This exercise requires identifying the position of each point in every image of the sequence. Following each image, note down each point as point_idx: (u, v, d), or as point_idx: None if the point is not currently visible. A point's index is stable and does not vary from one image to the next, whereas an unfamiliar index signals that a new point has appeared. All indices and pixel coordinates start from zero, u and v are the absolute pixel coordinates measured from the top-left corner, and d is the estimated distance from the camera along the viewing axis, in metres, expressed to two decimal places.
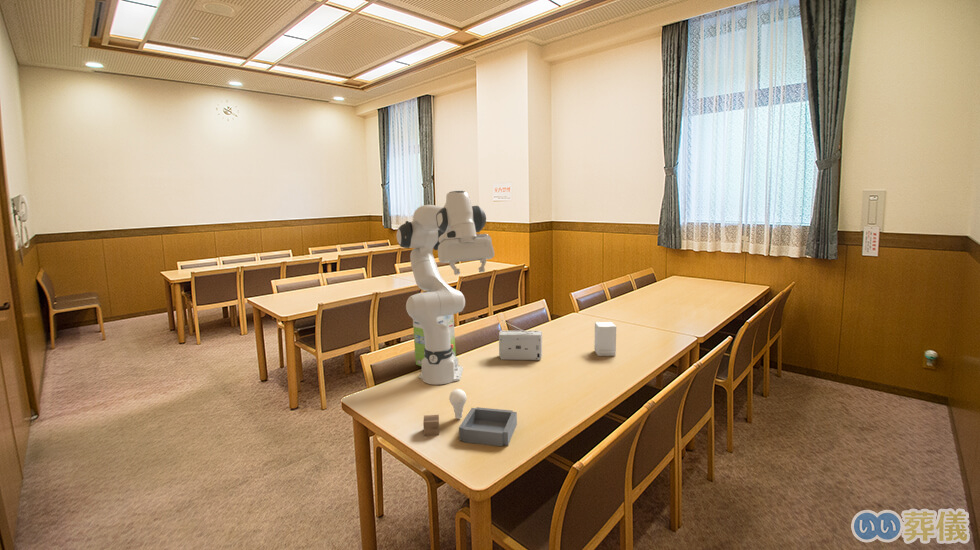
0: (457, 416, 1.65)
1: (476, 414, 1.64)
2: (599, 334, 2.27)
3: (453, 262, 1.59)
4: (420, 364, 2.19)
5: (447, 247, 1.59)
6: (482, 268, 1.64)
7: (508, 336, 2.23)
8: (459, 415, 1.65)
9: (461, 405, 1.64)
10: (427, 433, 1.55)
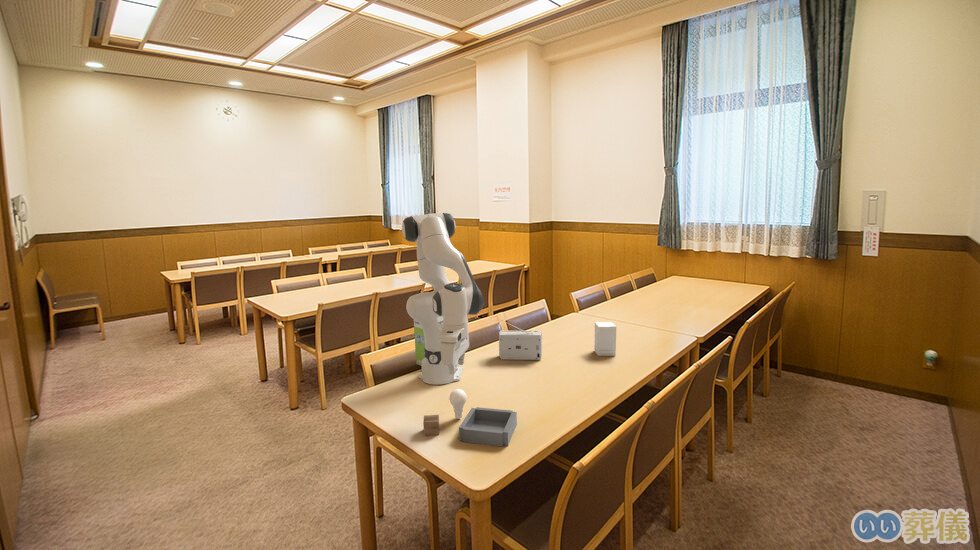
0: (457, 416, 1.65)
1: (476, 414, 1.64)
2: (599, 334, 2.27)
3: (454, 363, 1.57)
4: (420, 364, 2.19)
5: None
6: (463, 361, 1.68)
7: (508, 336, 2.23)
8: (459, 415, 1.65)
9: (462, 405, 1.64)
10: (427, 433, 1.55)
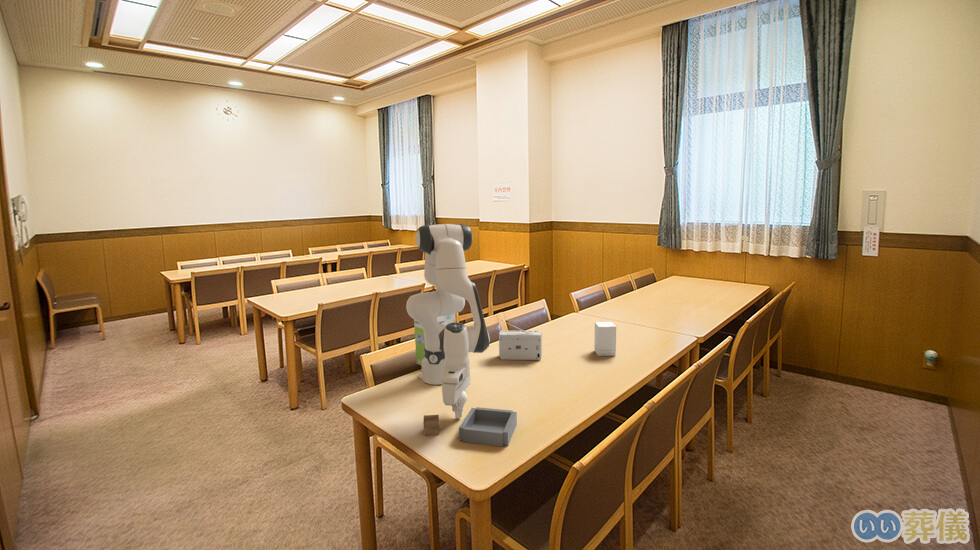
0: (457, 416, 1.65)
1: (476, 414, 1.64)
2: (599, 334, 2.27)
3: (456, 401, 1.61)
4: (420, 364, 2.19)
5: (455, 390, 1.57)
6: None
7: (508, 336, 2.23)
8: (460, 414, 1.65)
9: (462, 405, 1.64)
10: (427, 433, 1.55)
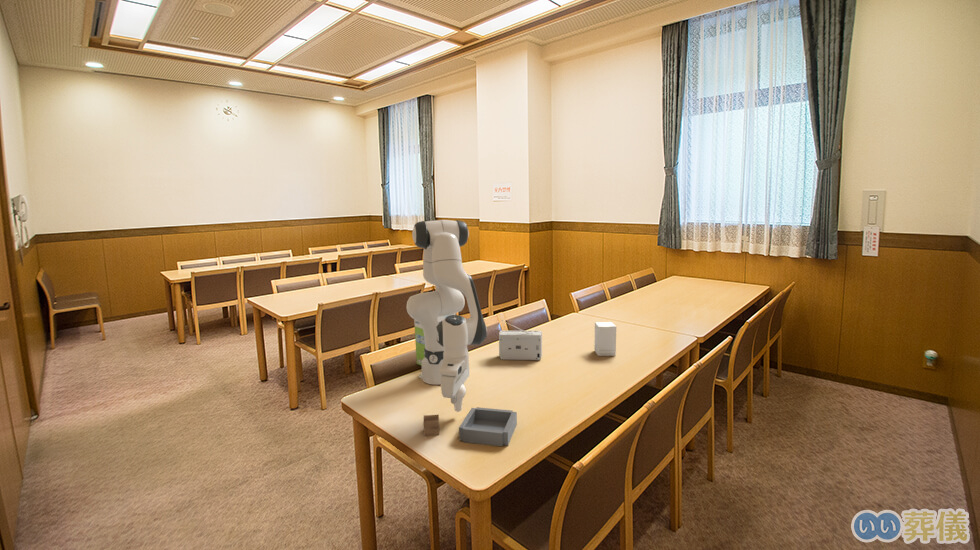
0: (456, 409, 1.66)
1: (476, 414, 1.64)
2: (599, 334, 2.27)
3: (455, 393, 1.61)
4: (420, 364, 2.19)
5: None
6: None
7: (508, 336, 2.23)
8: (459, 408, 1.66)
9: (461, 399, 1.64)
10: (427, 433, 1.55)
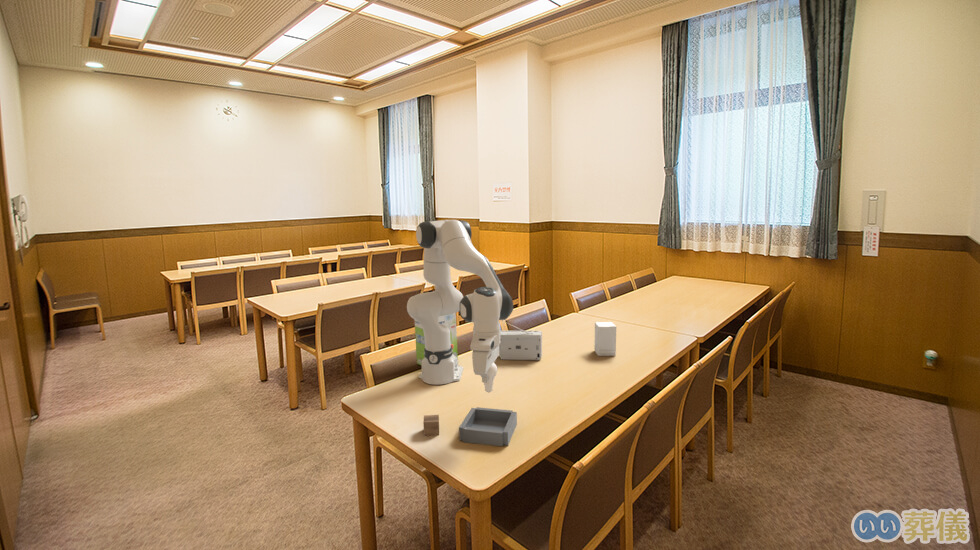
0: (487, 389, 1.54)
1: (476, 414, 1.64)
2: (599, 334, 2.27)
3: (487, 371, 1.49)
4: (420, 363, 2.20)
5: None
6: None
7: (508, 336, 2.23)
8: (490, 388, 1.54)
9: (492, 378, 1.52)
10: (427, 433, 1.55)
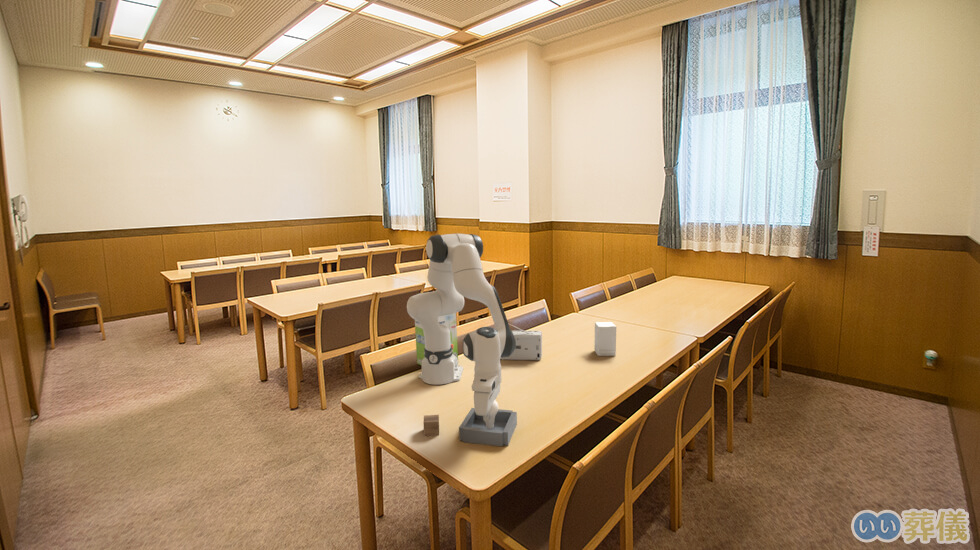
0: (488, 427, 1.56)
1: None
2: (599, 334, 2.27)
3: None
4: (420, 363, 2.20)
5: None
6: None
7: None
8: (491, 425, 1.56)
9: (493, 416, 1.54)
10: (427, 433, 1.55)
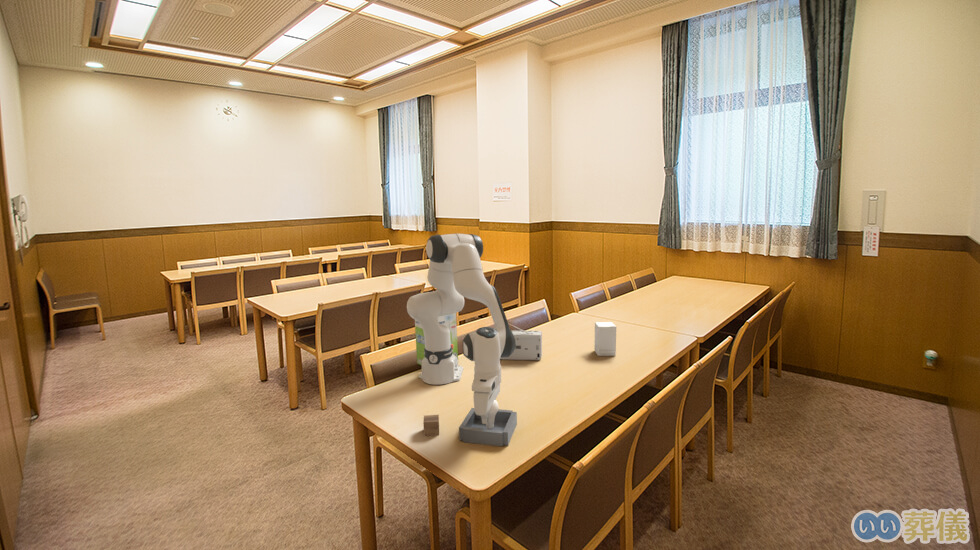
0: (488, 426, 1.56)
1: None
2: (599, 334, 2.27)
3: None
4: (420, 363, 2.20)
5: None
6: None
7: None
8: (491, 425, 1.56)
9: (493, 415, 1.55)
10: (427, 433, 1.55)
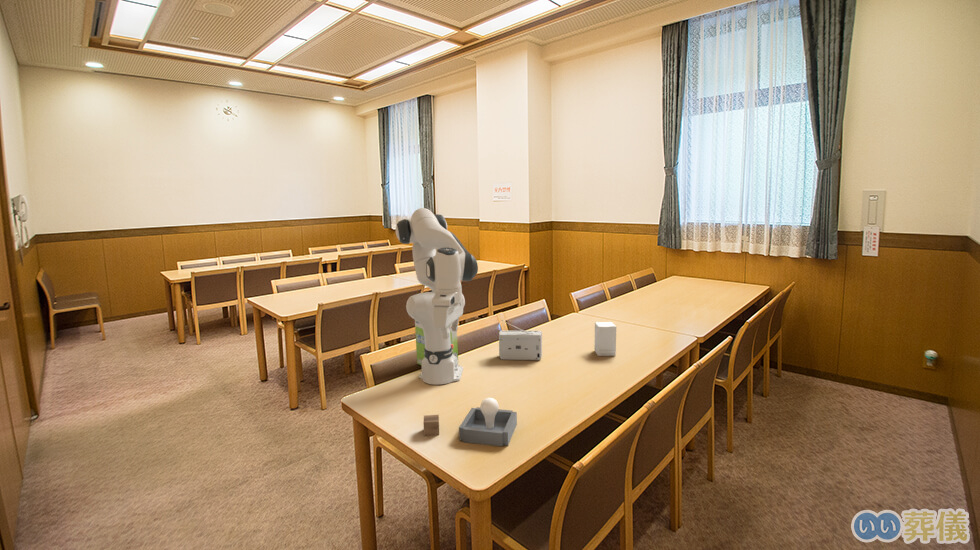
0: (488, 426, 1.56)
1: (476, 414, 1.64)
2: (599, 334, 2.27)
3: (447, 327, 1.56)
4: (420, 363, 2.20)
5: None
6: (457, 327, 1.66)
7: (508, 336, 2.23)
8: (491, 425, 1.56)
9: (493, 415, 1.55)
10: (427, 433, 1.55)
